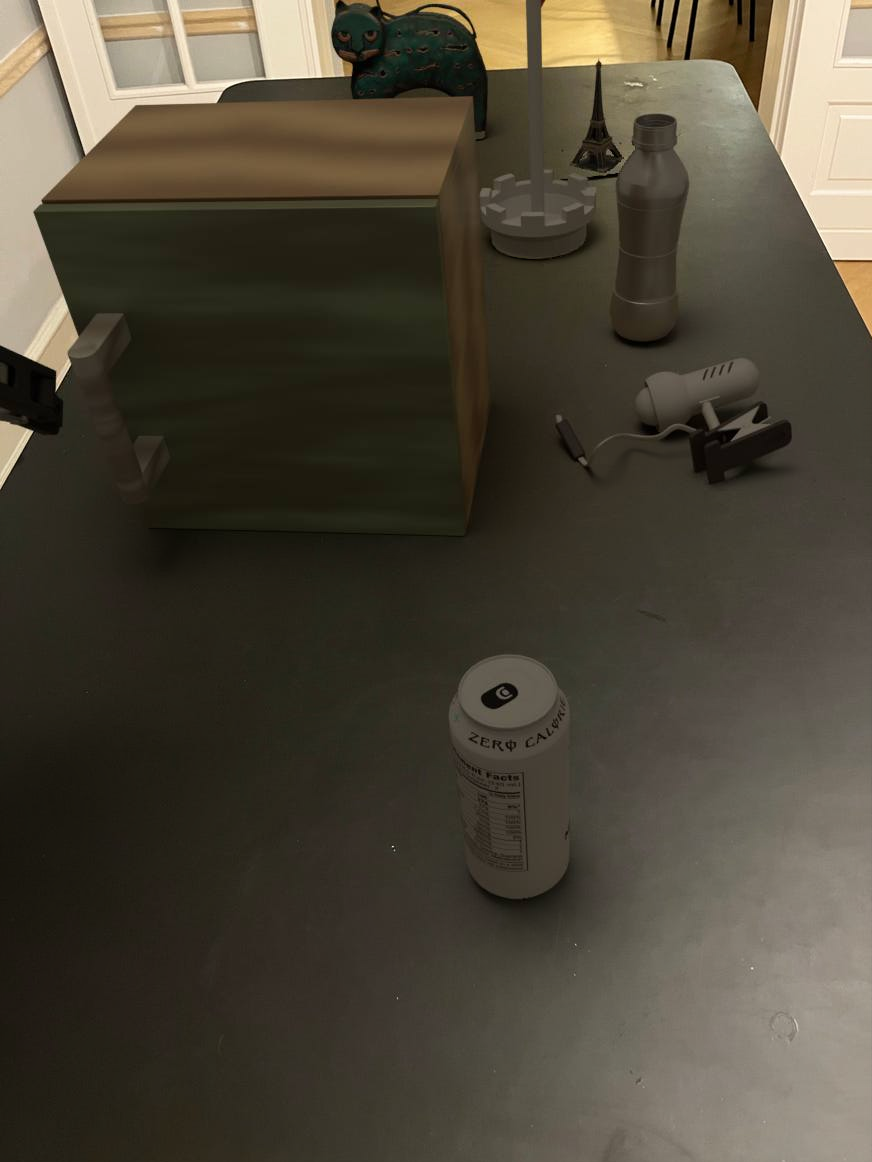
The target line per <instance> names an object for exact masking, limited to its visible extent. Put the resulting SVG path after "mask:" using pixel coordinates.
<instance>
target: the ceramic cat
mask: <svg viewBox="0 0 872 1162" xmlns="http://www.w3.org/2000/svg"><path fill="white" fill-rule="evenodd" d="M375 2H376V5H374V6H371V5H369V4H367V3H362V2H353V3H351V4H347V3H345V2H344V0H338V1H337V2H335V9H334V10H335V11H334V19H333V22H332V25H331V30H330V36H331V37H330V38H331V44H332V47H333V50H334V52H335V53H336V55H337V57H339V58H340V59H341V60H342V61H344V62H346V63H349V64H351V66H352V67H351V68H352V69H351V77H350V91H351V97H352V99H390V98H396V97H397V96H399V95H400V94H404V93H406V92H409V91H413V90H417V89H431V90H434V91H439V92H441V93H444V94H445V95H447V96H448V97H468V96H472V97H473V107H474V125H475V132H482V131H485V130H486V131H487V122H488V121H487V120H488V100H489V99H488V96H489V95H488V94H489V78H488V72H487V71H488V70H487V67H486V64H485V62H484V59H483V55H482V54H481V51H480V49H479V45H478V43H477V38H478V37H477V32H476V29H475V26H474V25H473V22H472V21H471V19H470V17H469V16H468V15H467V14H466V12H464V11H463V10H462V9H461V8H459V7H456V6H453V5H451V4H445V3H427V4H424V5H421V6H419V7H417V8H416V9H412V10H409V11H408V12H404V13H403V14H400V15H395V14H391V13H389V12H387V11H384V10H382V9H383V8H382V7H381V4H380V0H375ZM431 8H439V9H444V10H450V11H453V12H455V13H457V14H459V15H460V16H461V17H462V18H463V19H464V20H466V22H467V23H468V24H469V26H470V28H471V30H472V31H470V30H469V29H468V28H467V27H466V26H465V25H464V24H463V23H462V22H461V21H459V20H457V19H456V18H455V17H453V16H451V15H448V14H445V13H442V12H441V13H439V12H435V11H422V10H425V9H431Z"/></svg>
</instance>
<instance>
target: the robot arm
mask: <svg viewBox="0 0 872 1162" xmlns="http://www.w3.org/2000/svg"><path fill="white" fill-rule="evenodd" d="M57 373H58V372H57V370H55V369H53V368H51V367H49V366H47V365H45V364H42V363H40V362H38V361H36V360H34V359H32V358H29V357H27V356H25V355H23V354H21V353H18V352H16V351H14V350H12V349H9V348H8V347H5V346H3V345H1V344H0V422H5V423H9V424H10V425H13V426H19V427H21V428H23V429H27V430H29V431H31V432H34V433H37V434H39V435H42V436H57V435H59V432H60V429H61V428H63V423H64V400H63V398H60V397H59V396H58V394H57Z"/></svg>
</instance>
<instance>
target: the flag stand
mask: <svg viewBox="0 0 872 1162" xmlns="http://www.w3.org/2000/svg"><path fill="white" fill-rule="evenodd" d="M545 2H546V0H525V21H526V24H525V25H526V58H527V59H526V62H527V65H526V66H527V98H528V101H527V102H528V137H529V140H528V141H529V175H530V176H529V177H530V179H526V180H520V181H516V176H515V175H514V174H513V173H511V172H510V173H507V174H504V175H501V176H498V177H496V178H494V179H493V188H491V187H490V188H489V187H482V188H481V190H480V192H479V209H480V220H481V222H482V224H484V225H485V226H486V227H487V228H488V229H490V239H491V238H492V240H493V242H494V243H495V244H496V245H497V246H499V248H501V249H503V250H504V251H507V252H510V253H513V254H517V255H522V256H530V257H550V256H556V255H561V254H564V253H567V252H571V251H572V250H574V249H576V248H577V247H579V246H580V245H581V244H582V242H584V240H585V238H586V239H587V226H588V224H589V223H590V222H591V221H592V220H593V219H594V218H595V216H596V213H597V188H596V186H589V178H586V177H584V176H582V175H579V174H576V173H572V174H570V175H568V180H554V170H552V169H544V153H545V151H544V100H543V99H544V97H543V96H544V95H543V93H544V92H543V43H542V42H543V37H542V33H543V32H542V31H543V30H542V7H543V6H544V4H545ZM492 189H493V190H492ZM585 241H586V240H585Z"/></svg>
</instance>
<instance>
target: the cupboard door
mask: <svg viewBox="0 0 872 1162" xmlns="http://www.w3.org/2000/svg"><path fill="white" fill-rule="evenodd" d="M32 212H33V216H34V218H35V221H36V224H37V227H38V229H39V232H40V235H41V237H42V240H43V243H44V246H45V248H46V251H47V254H48V257H49V260H50V263H51V266H52V268H53V271H54V273H55V276H56V279H57V282H58V284H59V288H60V290H61V293H62V295H63V298H64V301H65V304H66V306H67V309H68V312H69V315H70V317H71V320H72V323H73V326H74V329H75V331H76V334H77V339H75V341H74V342H73V344H72V345H71V346H70V348H69V349H68V350H67V353H66V354H67V357H68V360H69V363H70V365H71V367H72V370H73V374H74V375H75V378H76V381H77V383H78V386H79V389H80V391H81V394H82V396H83V399H84V402H85V405H86V408H87V410H88V413H89V416H90V418H91V420H92V423H93V426H94V429H95V431H96V434H97V437H98V440H99V442H100V445H101V447H102V450H103V453H104V455H105V458H106V461H107V463H108V466H109V469H110V472H111V474H112V477H113V479H114V482H115V484H116V485H115V486H116V487H117V490H118V492H119V495H120V497H121V500H122V502H123V504H125V505H127V506H128V505H129V506H136V505H139V507H140V510H141V513H142V516H143V519H144V521H145V524H146V527H147V528H148V529H150V528H151V529H185V530H187V529H188V530H219V531H221V530H223V531H224V530H225V531H257V532H258V531H259V532H296V533H297V532H299V533H300V532H301V533H302V532H304V533H333V534H334V533H336V534H338V533H339V534H373V535H375V534H376V535H377V534H378V535H413V536H451V537H452V536H454V537H465V536H466V533H467V529H468V525H467V523H466V511H465V500H464V488H463V477H462V465H461V454H460V442H459V431H458V419H457V408H456V396H455V385H454V373H453V362H452V350H451V339H450V327H449V316H448V304H447V293H446V281H445V270H444V258H443V247H442V235H441V224H440V212H439V201H438V199H387V200H314V201H241V202H168V203H96V204H42V203H41V204H39V205H38V206H37V207H36V208H35V209H34V210H33V211H32Z"/></svg>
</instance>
